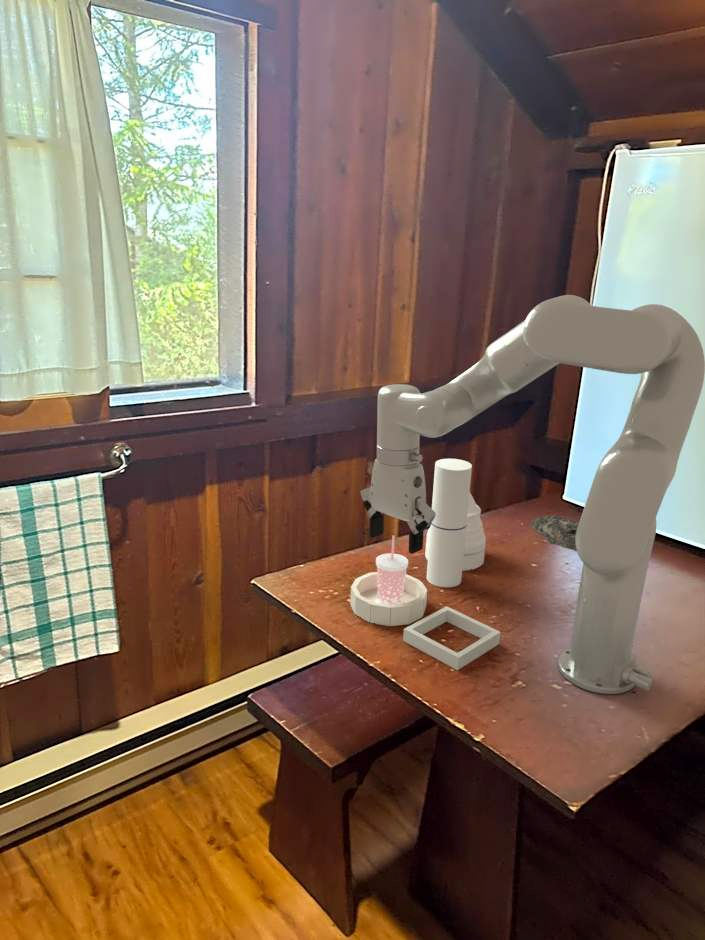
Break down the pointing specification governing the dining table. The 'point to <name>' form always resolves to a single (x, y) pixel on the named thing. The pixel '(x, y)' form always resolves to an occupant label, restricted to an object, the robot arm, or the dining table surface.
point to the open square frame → (442, 653)
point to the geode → (557, 530)
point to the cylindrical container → (448, 522)
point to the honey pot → (470, 538)
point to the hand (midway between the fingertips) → (395, 543)
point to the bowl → (385, 614)
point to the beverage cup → (391, 576)
